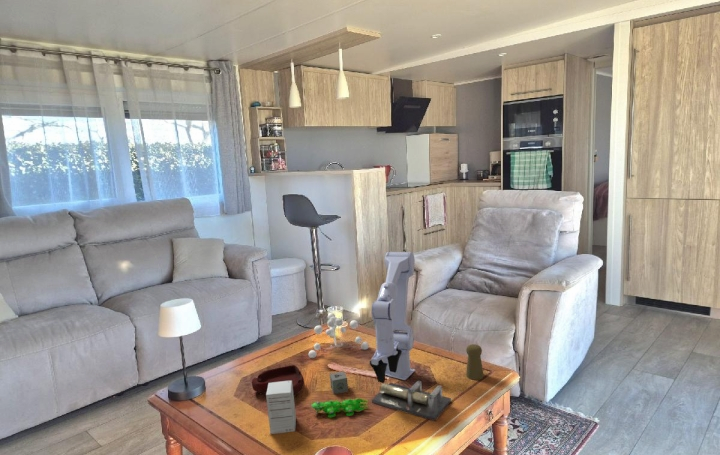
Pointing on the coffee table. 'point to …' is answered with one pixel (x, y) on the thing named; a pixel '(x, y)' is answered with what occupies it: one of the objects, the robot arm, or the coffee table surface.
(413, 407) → the collar base
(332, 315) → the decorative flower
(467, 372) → the cork
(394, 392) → the brass tube
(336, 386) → the dice cube
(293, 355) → the coffee table surface
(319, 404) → the green bumpy long piece
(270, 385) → the supplement box
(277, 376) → the ashtray
